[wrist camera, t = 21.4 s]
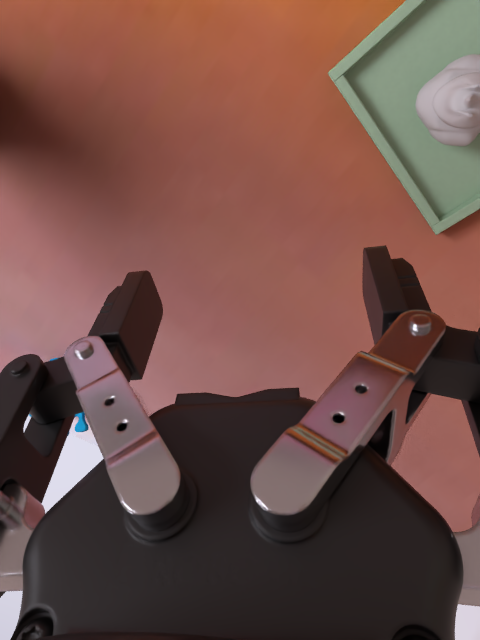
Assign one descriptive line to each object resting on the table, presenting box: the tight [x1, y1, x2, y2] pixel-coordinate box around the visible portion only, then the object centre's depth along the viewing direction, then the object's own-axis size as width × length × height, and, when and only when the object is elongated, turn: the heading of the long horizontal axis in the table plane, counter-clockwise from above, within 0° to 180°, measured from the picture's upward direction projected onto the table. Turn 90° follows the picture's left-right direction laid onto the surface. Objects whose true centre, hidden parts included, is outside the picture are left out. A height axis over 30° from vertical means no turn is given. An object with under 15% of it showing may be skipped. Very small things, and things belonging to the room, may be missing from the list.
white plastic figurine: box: [415, 54, 480, 146], centre depth 26 cm, size 5×7×8 cm
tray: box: [328, 0, 480, 235], centre depth 29 cm, size 15×12×2 cm
